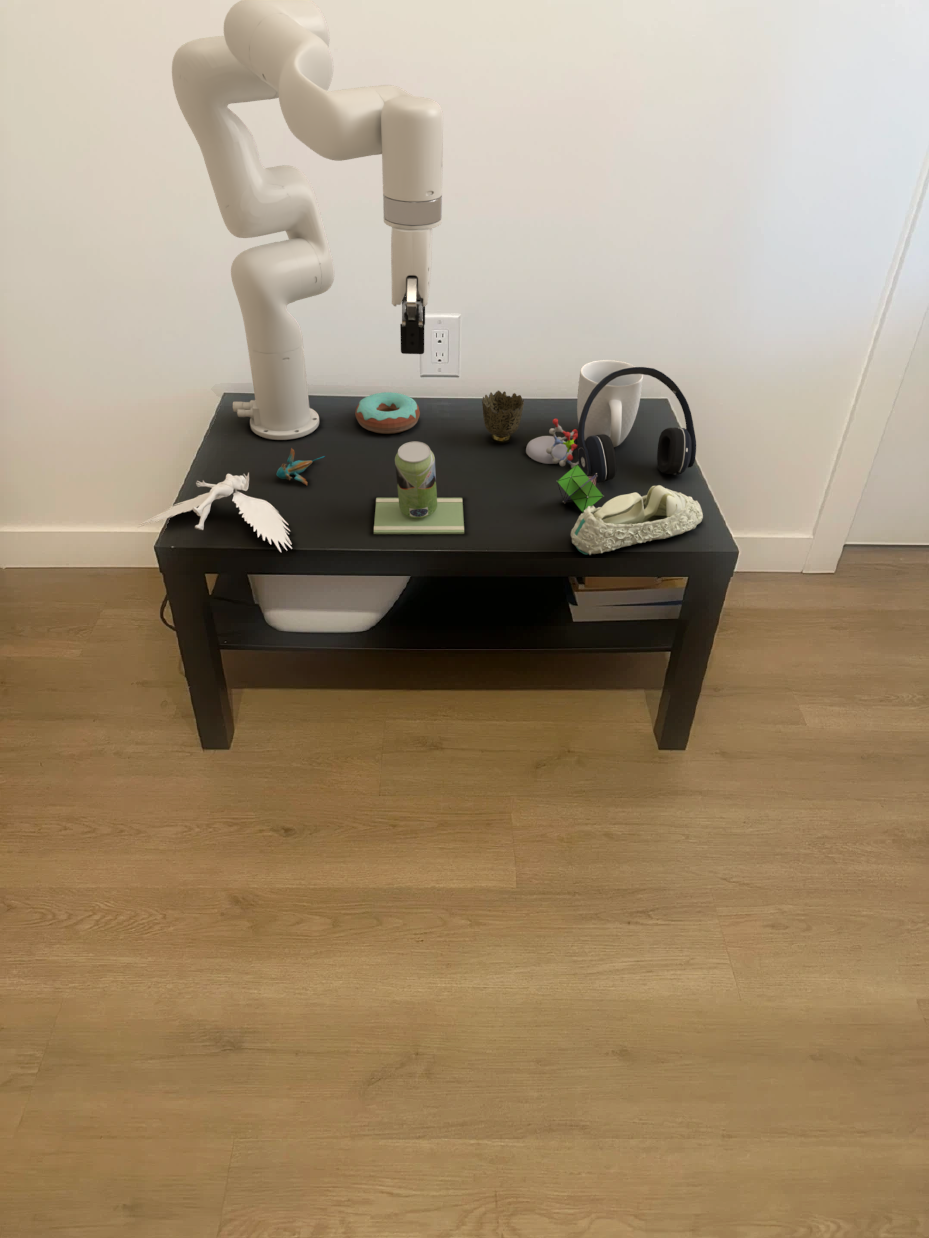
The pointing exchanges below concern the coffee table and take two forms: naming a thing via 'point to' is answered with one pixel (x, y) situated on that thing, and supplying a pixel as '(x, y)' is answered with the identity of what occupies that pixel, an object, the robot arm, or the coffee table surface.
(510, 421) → the cup
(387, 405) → the donut
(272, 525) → the figurine
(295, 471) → the dragon figurine
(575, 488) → the green polyhedron model
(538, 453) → the white pebble
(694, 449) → the earphone
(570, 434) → the molecular model
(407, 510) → the beverage can
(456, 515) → the towel mat
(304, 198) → the robot arm
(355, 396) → the coffee table surface
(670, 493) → the ballet flat
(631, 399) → the mug
